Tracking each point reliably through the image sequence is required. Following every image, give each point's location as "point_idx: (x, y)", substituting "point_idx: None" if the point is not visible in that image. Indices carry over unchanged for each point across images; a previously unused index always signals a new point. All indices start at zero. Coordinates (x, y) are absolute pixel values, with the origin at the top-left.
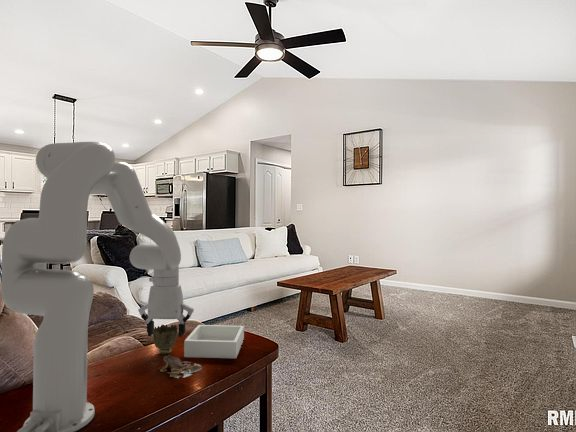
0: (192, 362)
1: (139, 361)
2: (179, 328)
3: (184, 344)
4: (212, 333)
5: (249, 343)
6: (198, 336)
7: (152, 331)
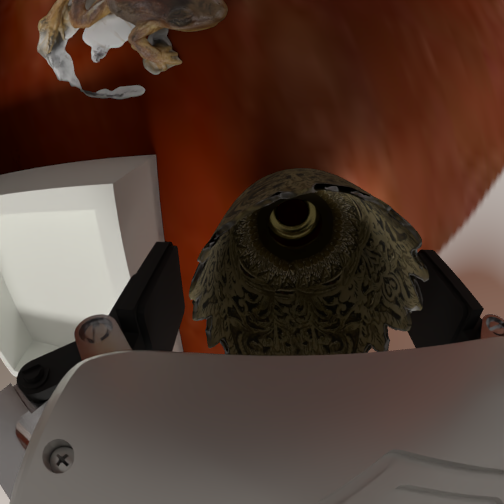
0: (90, 93)
1: (397, 94)
2: (144, 282)
3: (123, 176)
4: None
5: None
6: None
7: None
